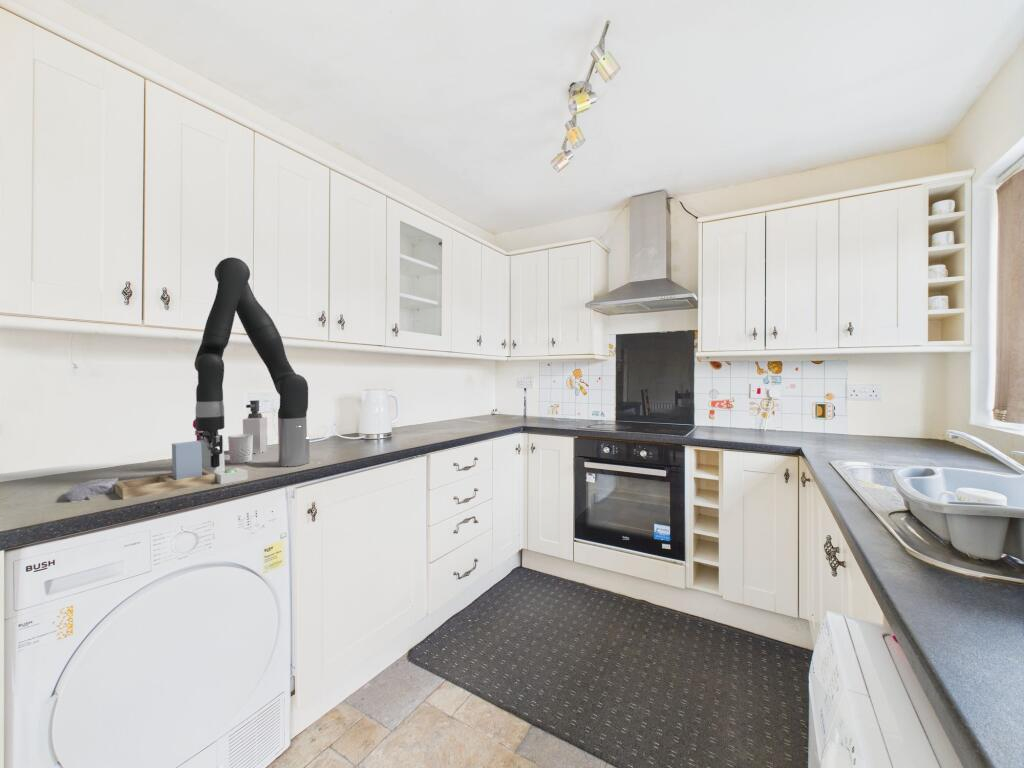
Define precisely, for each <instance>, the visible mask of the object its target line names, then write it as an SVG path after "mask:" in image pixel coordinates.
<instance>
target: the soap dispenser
mask: <svg viewBox="0 0 1024 768" xmlns="http://www.w3.org/2000/svg"><path fill="white" fill-rule="evenodd" d="M249 402H250V404H246V405H245V408H246V409H250V412H251V413H248V414H247V415H248V416H247V418H243V419H242V431H243V432H242V434H252V435H253V449H252V453H261V454H263V453H262V452H264V453H266V452H268V417H263V415H262V412H260V400H249ZM265 451H266V452H265Z"/></svg>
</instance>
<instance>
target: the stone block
mask: <svg viewBox="0 0 1024 768" xmlns="http://www.w3.org/2000/svg"><path fill="white" fill-rule="evenodd" d="M117 482H119V478H118V476H117V477H113V478H99V479H92V480H91V479H90V480H87V481H85V482H81V483H78V484H73V485H72V486H71V487H69V488H68V489H67V491H66V492H65V494H64V495H65V499H66V500H67V501H68V500H69V501H68V502H70V501H77V502H83V501H82V500H86V501H90V498H89V497H91V496H97V495H108V494H112V493H116V492H115V483H117Z"/></svg>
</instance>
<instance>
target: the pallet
mask: <svg viewBox="0 0 1024 768" xmlns="http://www.w3.org/2000/svg"><path fill="white" fill-rule="evenodd" d="M215 483H216V482H215V474H213V473H211V472H208V471H206V470H204V469H202V476H197V477H191V478H185V479H179V480H173V473H169V474H163V475H157V476H155V475H154V476H150V477H149V476H148V477H143V478H137V479H132V480H131V479H130V480H123V481H118V482H117V483H115V492H114V493H115V494H116V495H117V496H119V497H120V498H121V499H122V500H128V499H133V498H139V497H144V496H145V497H146V496H150V495H154V494H155V495H157V494H161V493H167V492H172V491H177V490H182V489H183V490H184V489H190V488H195V487H199V486H204V485H210V484H211V485H212V484H215Z"/></svg>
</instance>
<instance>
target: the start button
mask: <svg viewBox="0 0 1024 768" xmlns="http://www.w3.org/2000/svg"><path fill="white" fill-rule="evenodd" d="M230 472H235V469H234V468H229V469H228V468H227V469H225V473H230Z"/></svg>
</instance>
